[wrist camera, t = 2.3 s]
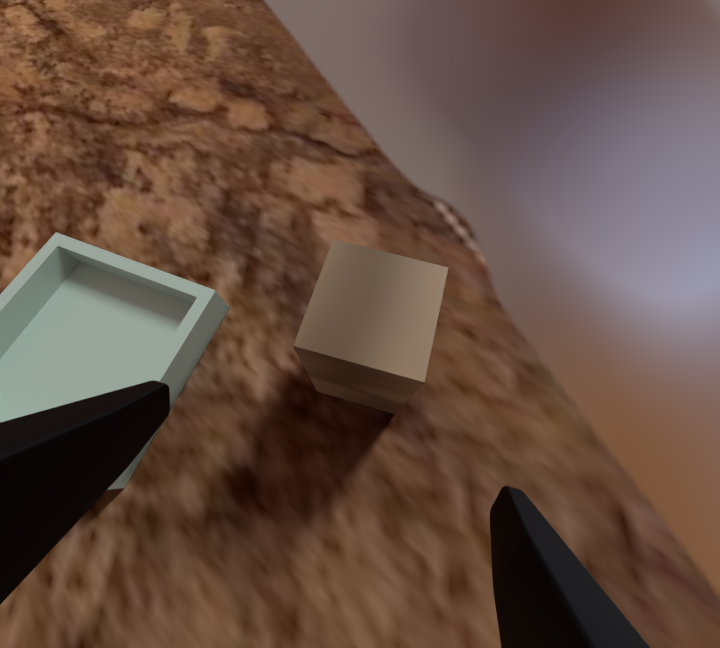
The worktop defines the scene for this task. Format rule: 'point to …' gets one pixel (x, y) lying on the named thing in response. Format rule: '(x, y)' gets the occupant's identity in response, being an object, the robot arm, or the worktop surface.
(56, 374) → the tray
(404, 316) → the walnut block
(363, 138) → the worktop surface
